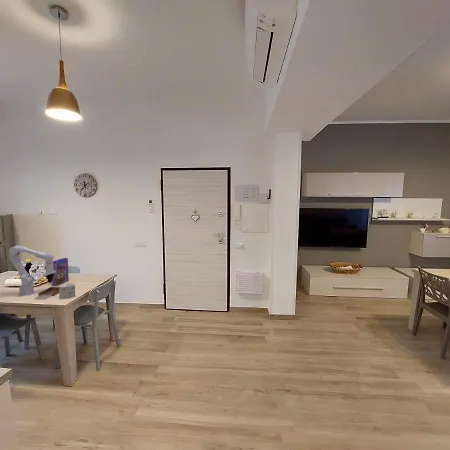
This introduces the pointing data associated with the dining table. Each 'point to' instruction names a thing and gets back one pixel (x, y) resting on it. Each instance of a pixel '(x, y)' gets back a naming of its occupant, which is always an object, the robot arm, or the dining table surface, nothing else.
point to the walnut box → (50, 291)
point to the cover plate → (42, 297)
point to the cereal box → (60, 272)
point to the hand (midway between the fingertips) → (50, 282)
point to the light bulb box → (67, 291)
